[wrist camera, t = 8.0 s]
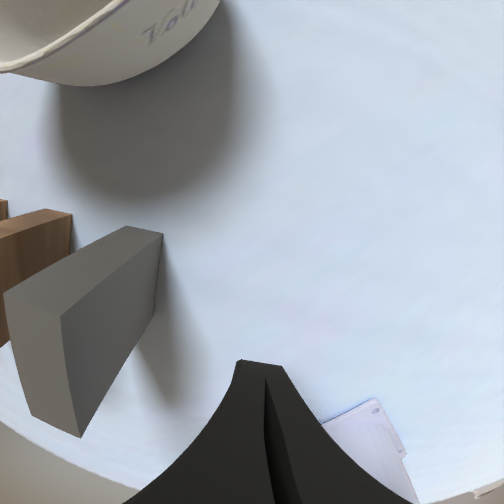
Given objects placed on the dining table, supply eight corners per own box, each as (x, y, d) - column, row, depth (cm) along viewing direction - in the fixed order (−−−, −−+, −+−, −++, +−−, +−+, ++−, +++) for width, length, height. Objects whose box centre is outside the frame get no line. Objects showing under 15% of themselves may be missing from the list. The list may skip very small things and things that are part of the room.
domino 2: (162, 233, 14) (59, 316, 6) (153, 316, 16) (80, 438, 7) (126, 225, 14) (3, 293, 6) (119, 307, 16) (31, 415, 7)
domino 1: (71, 214, 14) (-58, 262, 5) (69, 291, 15) (-31, 376, 7) (45, 208, 14) (-80, 249, 5) (44, 283, 15) (-57, 356, 7)
